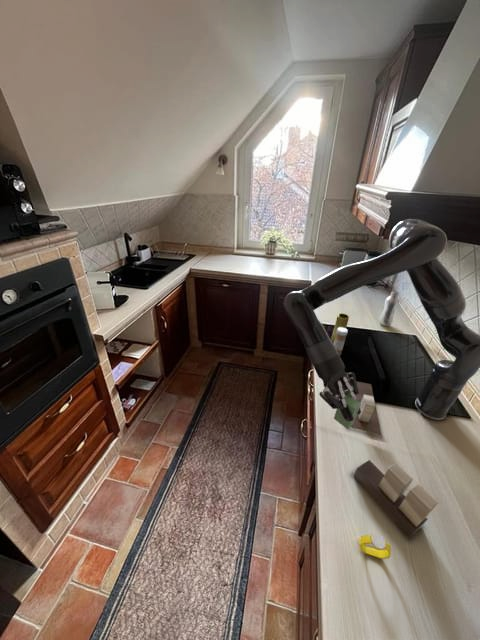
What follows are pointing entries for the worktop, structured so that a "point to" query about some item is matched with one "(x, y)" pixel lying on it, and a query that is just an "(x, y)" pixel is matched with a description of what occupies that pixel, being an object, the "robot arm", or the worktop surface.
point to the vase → (340, 324)
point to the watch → (377, 543)
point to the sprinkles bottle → (340, 339)
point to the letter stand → (397, 496)
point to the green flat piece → (353, 408)
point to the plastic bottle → (389, 309)
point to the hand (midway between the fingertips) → (354, 416)
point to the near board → (374, 415)
